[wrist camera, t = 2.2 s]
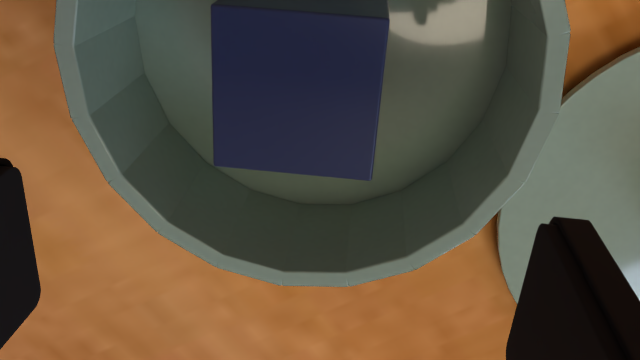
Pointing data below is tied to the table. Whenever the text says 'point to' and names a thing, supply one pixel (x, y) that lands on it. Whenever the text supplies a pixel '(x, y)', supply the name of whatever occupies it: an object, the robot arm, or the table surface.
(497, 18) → the pan
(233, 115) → the block
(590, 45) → the table surface
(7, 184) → the robot arm
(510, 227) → the lid
